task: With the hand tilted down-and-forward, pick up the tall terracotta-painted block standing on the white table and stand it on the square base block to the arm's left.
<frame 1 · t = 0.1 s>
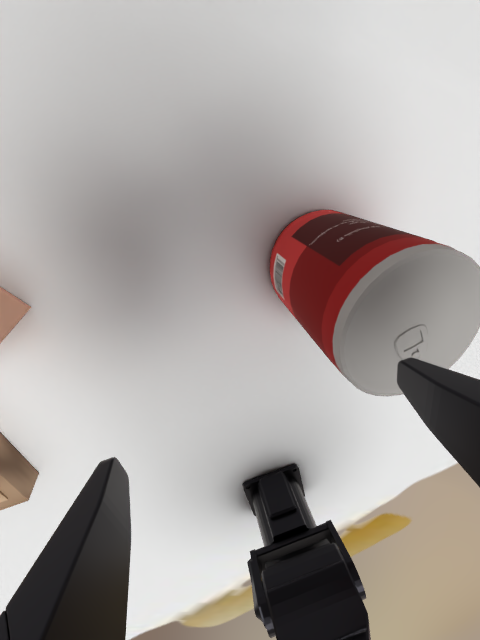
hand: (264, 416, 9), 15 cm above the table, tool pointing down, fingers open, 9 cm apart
canned food: (312, 260, 24), on the table
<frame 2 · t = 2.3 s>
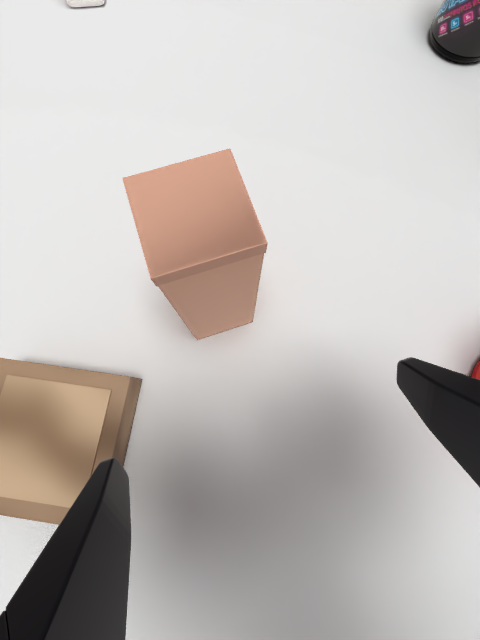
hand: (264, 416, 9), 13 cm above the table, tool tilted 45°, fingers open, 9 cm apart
supplement container: (458, 44, 31), on the table
terracotta block: (216, 304, 24), on the table
base block: (65, 434, 22), on the table
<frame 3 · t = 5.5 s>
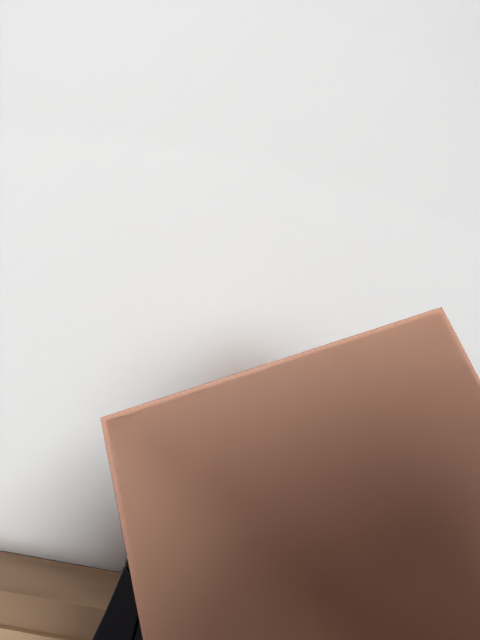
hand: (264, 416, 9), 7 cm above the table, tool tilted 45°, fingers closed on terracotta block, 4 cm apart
terracotta block: (262, 439, 15), on the table, touching gripper
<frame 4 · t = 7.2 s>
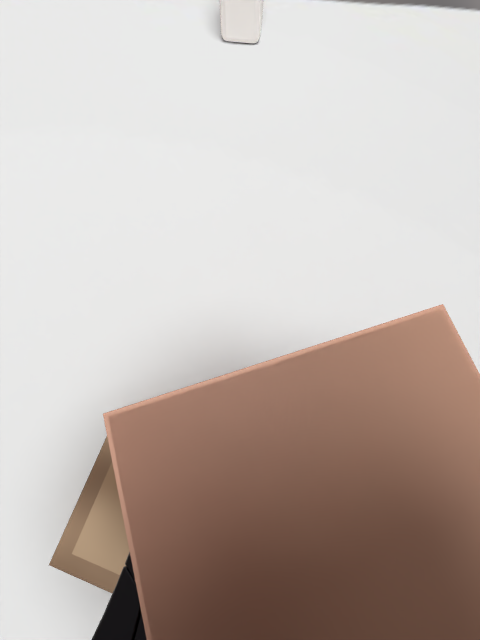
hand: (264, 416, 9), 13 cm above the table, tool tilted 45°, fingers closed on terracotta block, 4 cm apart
pepper shaker: (241, 33, 32), on the table
terracotta block: (263, 438, 15), point 7 cm above the table, touching gripper
base block: (163, 498, 21), on the table
when the fingers open (10 cm above the table, at t = 9.0 s): terracotta block stays where it is, resting on base block.
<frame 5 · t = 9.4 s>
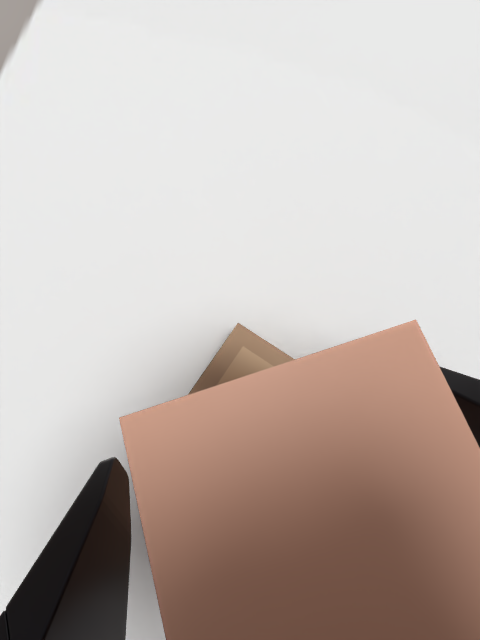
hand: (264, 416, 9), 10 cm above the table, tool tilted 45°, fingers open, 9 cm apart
terracotta block: (261, 438, 16), point 3 cm above the table, touching base block
base block: (258, 433, 19), on the table
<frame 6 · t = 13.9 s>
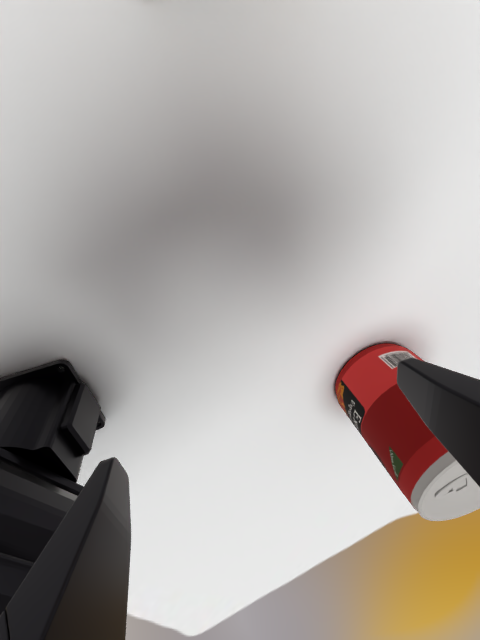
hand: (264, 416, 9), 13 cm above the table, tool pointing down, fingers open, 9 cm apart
canned food: (370, 374, 29), on the table
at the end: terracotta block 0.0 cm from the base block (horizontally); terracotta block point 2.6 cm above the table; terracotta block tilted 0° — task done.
